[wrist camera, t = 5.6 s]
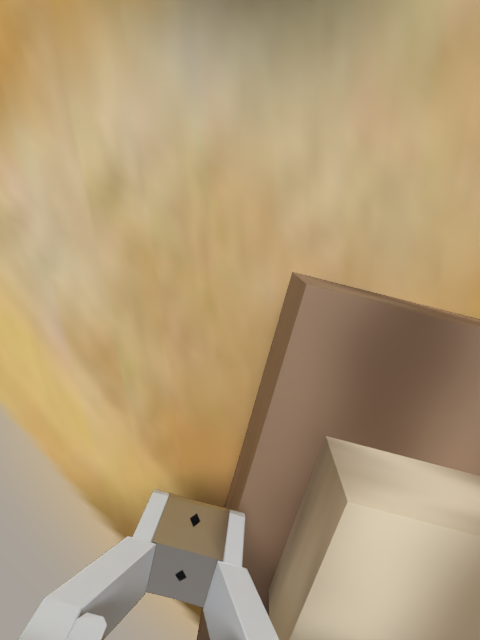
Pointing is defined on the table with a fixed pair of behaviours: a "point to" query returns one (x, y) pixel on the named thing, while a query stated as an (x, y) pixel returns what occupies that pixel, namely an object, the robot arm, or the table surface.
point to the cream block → (380, 551)
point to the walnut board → (350, 402)
